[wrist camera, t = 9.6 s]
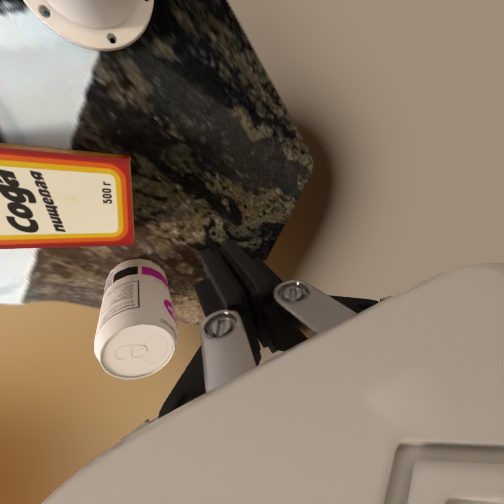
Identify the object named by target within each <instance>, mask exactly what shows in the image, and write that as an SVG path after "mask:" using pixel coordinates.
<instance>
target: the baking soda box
mask: <svg viewBox="0 0 504 504" xmlns="http://www.w3.org/2000/svg"><path fill="white" fill-rule="evenodd" d="M115 245H134V216H133V199H132V181H131V164H130V155H121V154H110V153H100V152H90V151H80V150H70V149H60V148H50V147H39V146H29V145H19V144H9V143H0V249H16V248H49V247H82V246H115Z"/></svg>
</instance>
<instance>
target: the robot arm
mask: <svg viewBox="0 0 504 504" xmlns="http://www.w3.org/2000/svg"><path fill="white" fill-rule="evenodd" d="M23 1H24V2H25V3H26V4H27V6H28V7H29V8H30V9H31V10H32V11H33V12H34V14H35V15H36V16H37V17H38V18H39V19H40V20H41V21H42V22H44V23H45V24H46V25H47V26H48V27H49V28H50V29H52V30H53V31H54V32H56V33H57V34H59V35H60V36H62V37H63V38H65V39H66V40H68V41H70V42H72V43H74V44H77V45H79V46H81V47H84V48H88V49H91V50H95V51H115V50H120V49H123V48H125V47H128V46H130V45H131V44H132V43H134V42H135V41H136V40H138V39H139V38H140V36H141V35H142V34H143V33H144V31H145V30H146V28H147V25H148V23H149V21H150V19H151V14H152V10H153V5H154V0H148V1H145V0H23ZM45 12H48V13H50V17H45V15H44V13H45ZM111 38H113V39H114V40H115V43H111V42H110V39H111ZM219 253H220V255H219V254H218V252H217V251H216V249H214V250H211V249H210V248H208V249H206V250H203V251H200V252H199V256H200V259H201V261H202V264H203V267H204V270H205V273H206V276H207V279H204V280H202V281H199V282H197V283H194V284H193V286H194V288H195V291H196V293H197V296H198V298H199V301H200V304H201V306H202V309H203V311H204V314H205V316H206V318H205V319H204V320H203V322H202V324H201V326H200V339H201V346H200V347H199V349H198V351H197V352H196V354H195V355H194V357H193V359H192V360H191V362H190V363H189V365H188V366H187V368H186V370H185V371H184V373H183V374H182V376H181V377H180V379H179V380H178V382H177V384H176V385H175V387H174V388H173V390H172V391H171V393H170V394H169V396H168V398H167V399H166V401H165V402H164V404H163V406H162V408H161V410H160V412H159V416H158V417H156V418H155V419H154V420H153V421H151V422H150V421H149V419H148V420H146V421H145V422H144V423H142V424H141V425H140V426H139V427H137V428H136V429H134V430H133V431H132V432H130V433H129V434H128V435H126V436H125V437H124V438H123V439H121V440H120V441H119V442H117V443H116V444H114V445H113V446H111V447H110V448H108V449H107V450H105V451H104V452H102V453H101V454H99V455H98V456H96V457H95V458H93V459H92V460H91V461H90V462H89V463H87V464H86V465H85V466H83V467H82V468H81V469H79V470H78V471H77V472H76V473H74V474H73V475H72V476H70V478H68V479H67V480H66V481H65V482H64V483H63V484H62V485H61V486H60V487H59V488H58V489H56V490H55V491H54V492H53V493H52V494H51V495H50V496H49V497H48V498H46V500H44V501H43V502H42V504H504V264H503V263H486V264H477V265H470V266H464V267H460V268H456V269H452V270H449V271H446V272H443V273H441V274H438V275H435V276H433V277H431V278H429V279H427V280H424V281H422V282H420V283H418V284H416V285H413V286H411V287H409V288H407V289H405V290H403V291H402V292H399V293H397V294H395V295H393V296H389V297H386V298H382V299H380V302H378V301H375V300H369V299H361V298H351V297H340V296H329V295H327V294H325V293H323V292H322V291H320V290H319V289H317V288H315V287H314V286H312V285H310V284H309V283H307V282H305V281H303V280H298V279H294V280H287V281H284V282H283V281H282V280H281V279H280V278H279V277H278V276H277V275H276V274H275V273H274V272H273V271H272V270H271V269H270V268H269V267H268V266H267V265H266V264H265V263H264V262H263V261H262V260H261V259H260V258H257V259H254V260H252V259H251V258H250V257H249V256H248V255H247V254H246V253H245V252H244V251H243V250H242V249H241V248H240V247H239V245H238V244H237V243H236V242H235V241H234V240H230V241H227V242H225V243H222V247H220V248H219ZM258 339H259V341H260V343H261V344H262V346H263V347H264V348H265V347H267V346H268V347H269V349H270V350H271V352H272V353H274V352H276V351H278V350H280V351H285V352H283V353H281V354H279V355H277V356H275V357H273V358H271V359H269V360H267V361H265V362H264V363H262V364H260V365H259V362H260V360H261V355H260V345H259V341H258Z"/></svg>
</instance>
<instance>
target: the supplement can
mask: <svg viewBox="0 0 504 504" xmlns="http://www.w3.org/2000/svg"><path fill="white" fill-rule="evenodd" d="M178 335H179V333H178V328H177V323H176V319H175V314H174V310H173V305H172V301H171V296H170V292H169V287H168V283H167V279H166V275H165V272H164V271H163V270H162V269H161V267H160V266H159V265H157V264H155V263H154V262H152V261H150V260H144V259H132V260H127V261H125V262H123V263H120V264H118V265H117V266H116V267H115V268H114V269H113V270H112V271H111V272H110V274H109V276H108V278H107V280H106V285H105V290H104V295H103V301H102V306H101V311H100V316H99V321H98V326H97V331H96V336H95V341H94V353H95V355H96V356H97V358H98V360H99V362H100V364H101V366H102V367H103V369H104V371H106V372H107V373H108V374H110V375H111V376H113V377H117V378H121V379H138V378H142V377H146V376H149V375H151V374H153V373H155V372H157V371H159V370H160V369H161V368H163V367H164V366H165V365H166V364H167V363H168V362H169V360H170V358H171V357H172V355H173V353H174V349H175V347H176V345H177V342H178Z"/></svg>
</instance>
